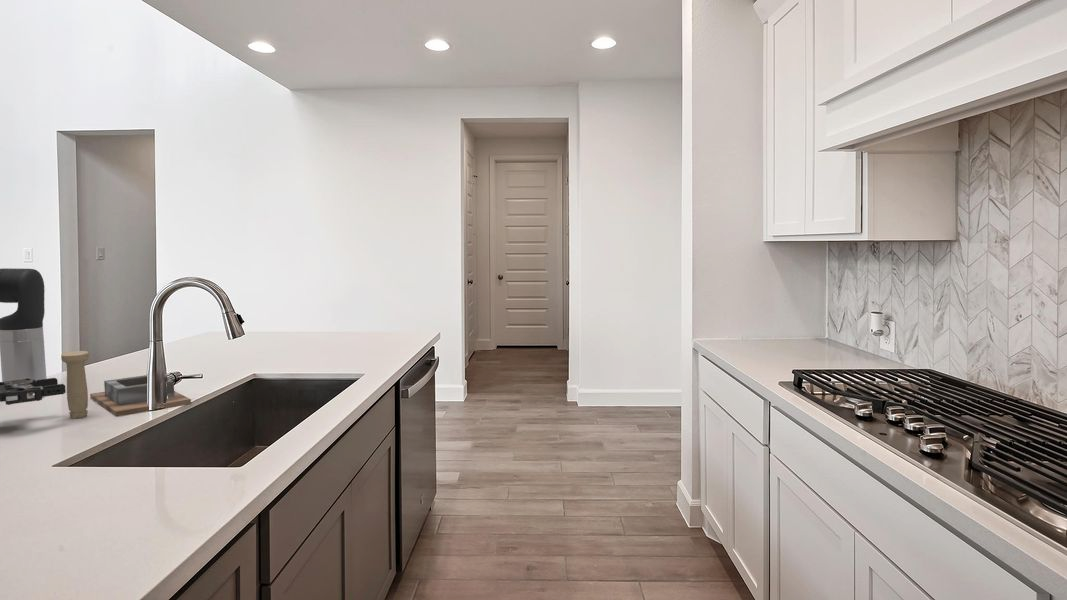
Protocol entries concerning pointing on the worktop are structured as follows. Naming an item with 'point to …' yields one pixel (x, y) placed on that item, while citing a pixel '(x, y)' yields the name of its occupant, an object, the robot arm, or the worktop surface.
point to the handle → (76, 383)
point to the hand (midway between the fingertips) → (61, 385)
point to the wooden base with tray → (133, 396)
